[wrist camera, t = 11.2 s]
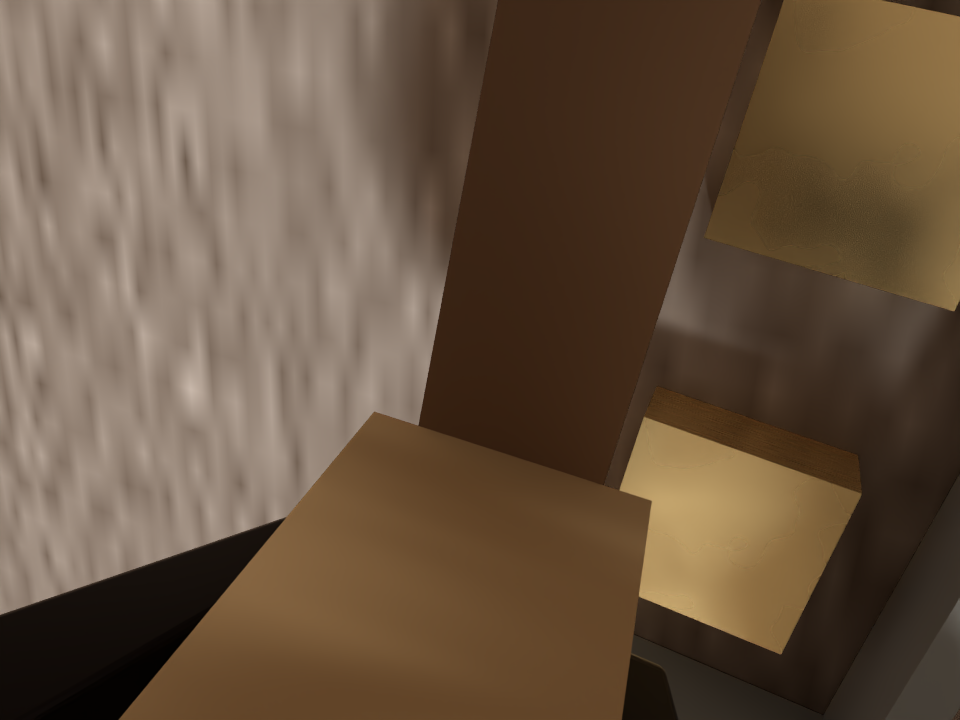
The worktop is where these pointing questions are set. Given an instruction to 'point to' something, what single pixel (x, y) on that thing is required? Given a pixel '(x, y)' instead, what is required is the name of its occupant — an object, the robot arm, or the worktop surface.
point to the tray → (880, 662)
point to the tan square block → (736, 515)
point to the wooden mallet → (498, 410)
